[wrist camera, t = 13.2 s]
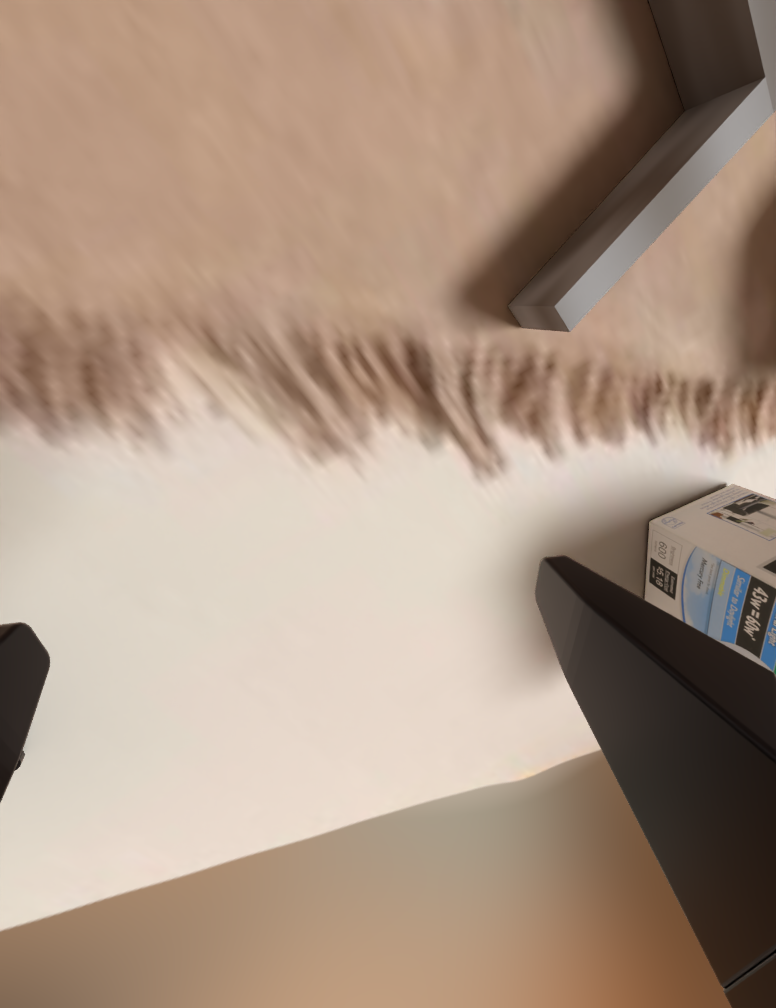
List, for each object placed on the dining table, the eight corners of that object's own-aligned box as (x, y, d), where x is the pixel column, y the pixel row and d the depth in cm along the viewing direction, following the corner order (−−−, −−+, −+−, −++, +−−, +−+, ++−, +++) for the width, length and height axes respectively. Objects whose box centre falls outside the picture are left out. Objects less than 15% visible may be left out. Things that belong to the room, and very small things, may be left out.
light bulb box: (644, 519, 26) (878, 640, 17) (733, 478, 27) (999, 570, 18) (640, 644, 31) (817, 790, 22) (715, 605, 32) (913, 728, 23)
